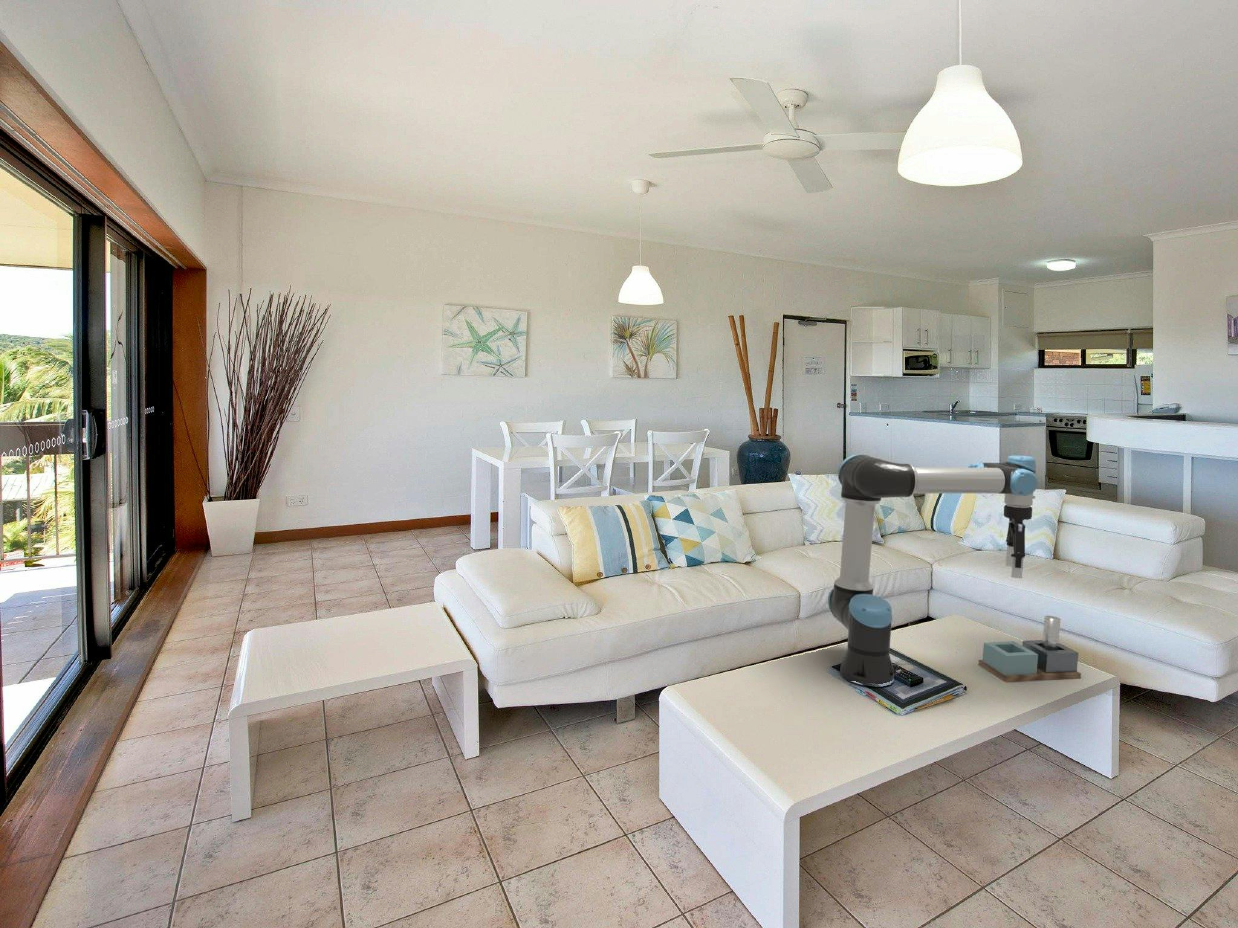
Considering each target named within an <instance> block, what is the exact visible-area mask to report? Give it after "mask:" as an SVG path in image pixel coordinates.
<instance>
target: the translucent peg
mask: <svg viewBox="0 0 1238 928" xmlns="http://www.w3.org/2000/svg"><path fill="white" fill-rule="evenodd" d="M1061 621H1062V619H1061V618H1060V617H1058V616H1054V615H1045V616H1044V620H1043V631H1042V632H1043V633H1042V640H1043V641H1042V648H1044V649H1046V650H1048V651H1054V650H1058V643H1060V642H1059V641H1060V629H1061Z"/></svg>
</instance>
